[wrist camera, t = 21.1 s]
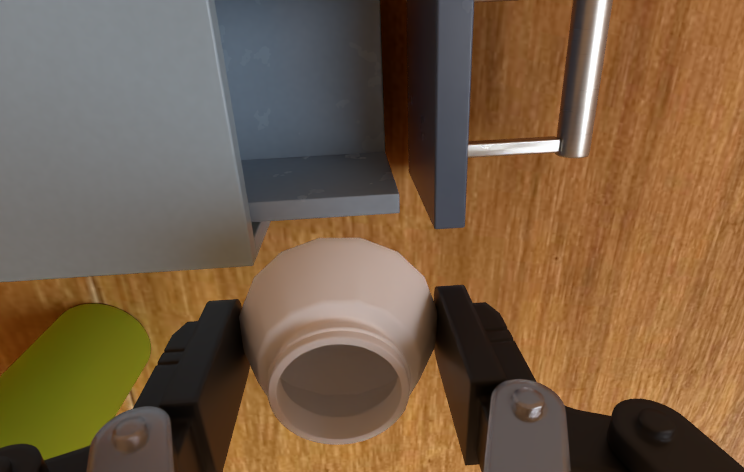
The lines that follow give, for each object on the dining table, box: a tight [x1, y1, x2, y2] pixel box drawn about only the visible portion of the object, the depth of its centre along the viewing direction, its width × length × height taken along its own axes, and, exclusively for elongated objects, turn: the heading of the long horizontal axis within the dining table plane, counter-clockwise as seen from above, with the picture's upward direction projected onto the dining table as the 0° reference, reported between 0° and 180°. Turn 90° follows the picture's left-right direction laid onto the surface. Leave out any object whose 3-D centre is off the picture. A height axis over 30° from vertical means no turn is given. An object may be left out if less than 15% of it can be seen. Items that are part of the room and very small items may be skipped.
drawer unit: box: [0, 0, 270, 282], centre depth 19 cm, size 14×12×10 cm
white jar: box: [239, 238, 438, 444], centre depth 11 cm, size 5×3×5 cm
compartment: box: [214, 0, 613, 229], centre depth 19 cm, size 19×10×8 cm, turn 93°
